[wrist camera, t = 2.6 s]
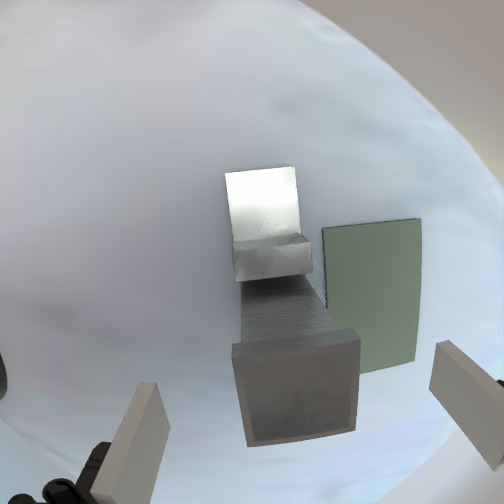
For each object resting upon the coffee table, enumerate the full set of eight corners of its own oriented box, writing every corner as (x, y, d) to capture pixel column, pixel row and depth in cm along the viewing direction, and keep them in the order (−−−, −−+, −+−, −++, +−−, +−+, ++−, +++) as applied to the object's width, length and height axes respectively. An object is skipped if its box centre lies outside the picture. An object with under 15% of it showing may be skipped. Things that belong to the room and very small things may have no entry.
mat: (328, 377, 28) (329, 379, 28) (322, 228, 25) (323, 229, 25) (412, 359, 28) (414, 360, 28) (418, 218, 26) (421, 219, 25)
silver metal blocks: (254, 396, 29) (257, 436, 23) (226, 174, 24) (221, 171, 19) (307, 389, 29) (319, 427, 23) (291, 167, 24) (305, 162, 19)
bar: (244, 327, 27) (247, 447, 13) (236, 268, 26) (231, 358, 12) (305, 319, 27) (355, 430, 13) (301, 260, 26) (361, 339, 12)
